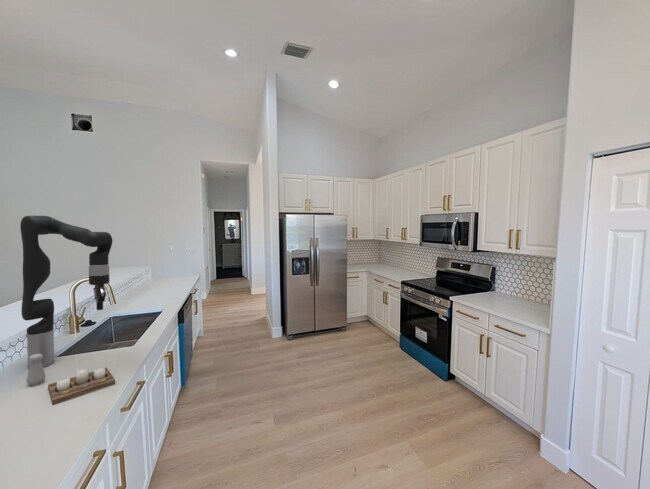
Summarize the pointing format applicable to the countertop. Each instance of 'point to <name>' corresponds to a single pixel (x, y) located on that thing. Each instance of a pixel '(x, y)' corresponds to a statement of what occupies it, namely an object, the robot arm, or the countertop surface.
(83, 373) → the button
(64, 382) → the white domed cylinder
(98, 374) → the button
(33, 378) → the salt shaker
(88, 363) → the countertop surface
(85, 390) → the board
